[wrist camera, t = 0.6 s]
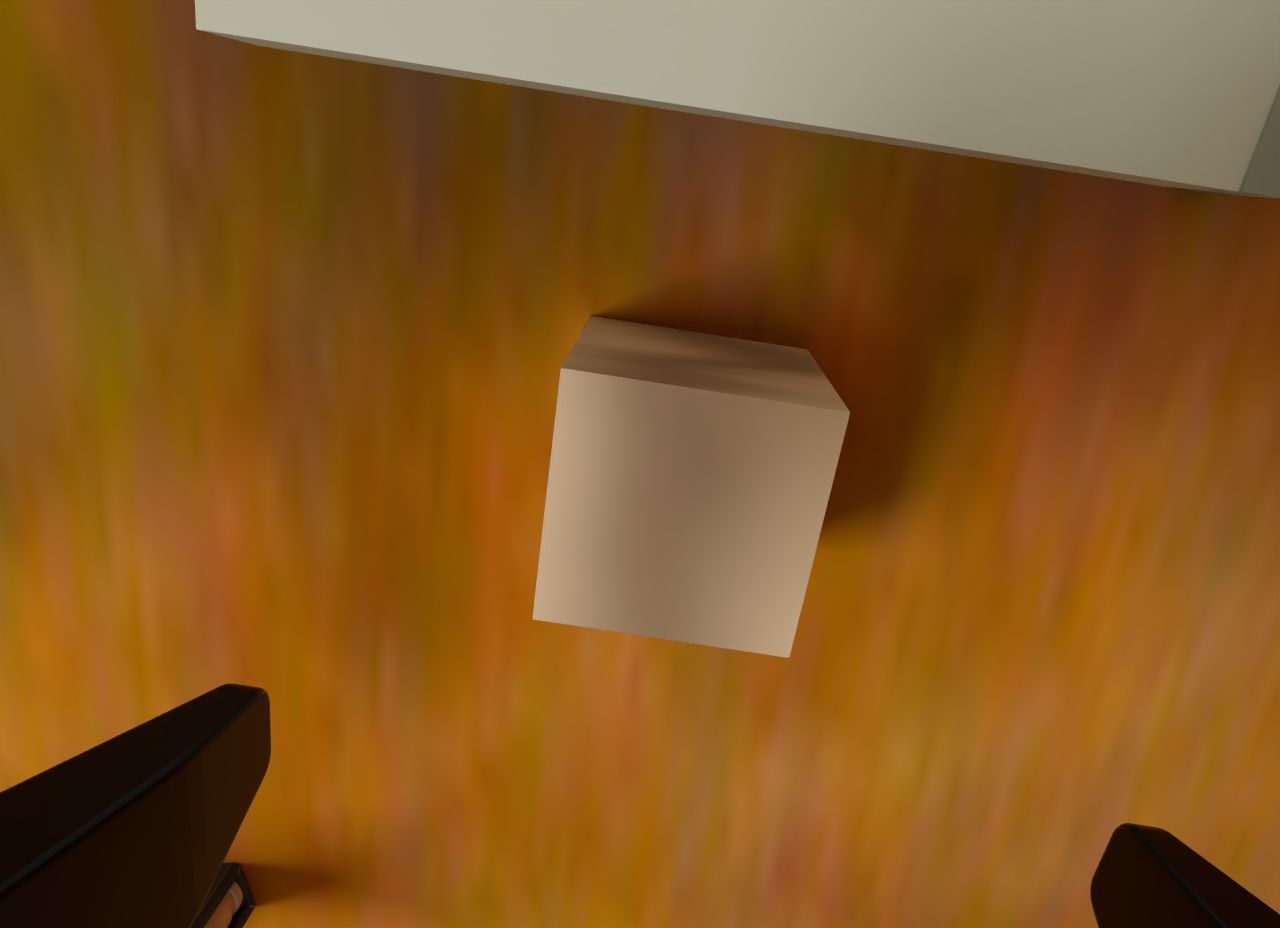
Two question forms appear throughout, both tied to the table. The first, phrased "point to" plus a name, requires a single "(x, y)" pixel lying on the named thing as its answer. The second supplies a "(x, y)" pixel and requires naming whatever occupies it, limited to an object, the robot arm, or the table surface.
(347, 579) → the table surface
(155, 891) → the robot arm
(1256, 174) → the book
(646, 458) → the maple block
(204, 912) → the ammunition clip
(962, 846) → the table surface
